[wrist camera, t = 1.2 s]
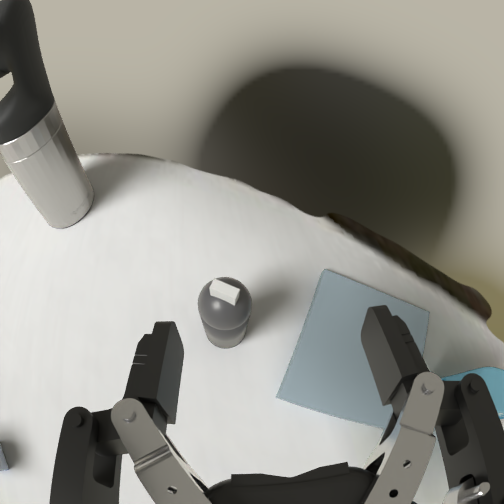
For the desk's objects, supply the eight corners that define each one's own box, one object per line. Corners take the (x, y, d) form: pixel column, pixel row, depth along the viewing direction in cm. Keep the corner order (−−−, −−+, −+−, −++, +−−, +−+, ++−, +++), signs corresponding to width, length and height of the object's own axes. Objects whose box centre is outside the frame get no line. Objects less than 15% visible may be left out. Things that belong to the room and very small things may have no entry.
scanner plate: (275, 397, 28) (278, 397, 27) (321, 273, 35) (324, 268, 34) (396, 431, 26) (402, 431, 25) (423, 315, 34) (429, 312, 32)
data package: (414, 414, 27) (481, 409, 16) (422, 381, 29) (488, 364, 19) (471, 422, 26) (532, 413, 15) (476, 393, 28) (537, 377, 17)
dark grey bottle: (199, 338, 30) (182, 302, 19) (215, 304, 32) (210, 252, 22) (235, 354, 30) (240, 328, 19) (251, 319, 32) (264, 274, 21)
